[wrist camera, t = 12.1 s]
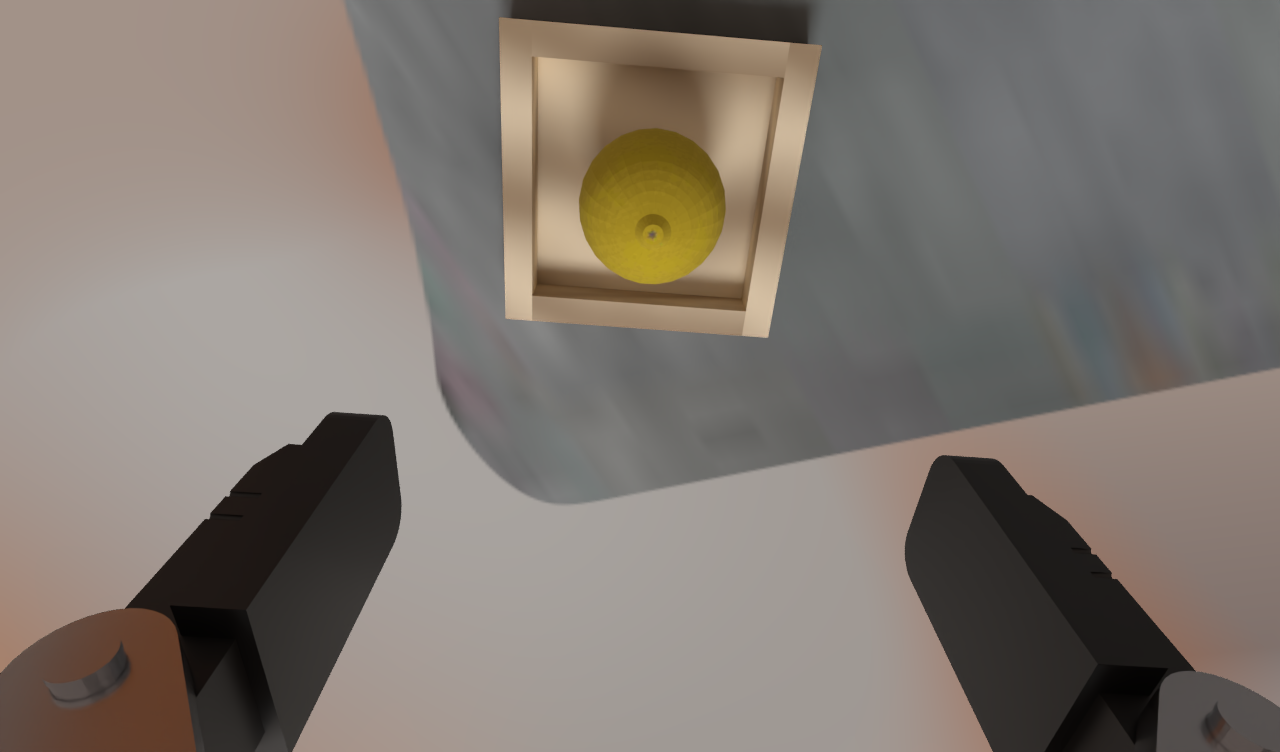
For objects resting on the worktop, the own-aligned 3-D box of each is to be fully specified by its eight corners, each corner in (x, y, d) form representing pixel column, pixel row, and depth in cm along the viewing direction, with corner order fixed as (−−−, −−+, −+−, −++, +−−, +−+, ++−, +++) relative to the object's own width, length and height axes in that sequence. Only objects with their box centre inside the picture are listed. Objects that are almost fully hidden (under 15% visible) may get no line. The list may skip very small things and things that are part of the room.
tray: (510, 18, 26) (498, 17, 24) (807, 44, 26) (822, 45, 24) (514, 299, 32) (505, 318, 29) (759, 317, 32) (768, 337, 30)
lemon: (666, 88, 26) (674, 107, 19) (739, 199, 28) (769, 254, 21) (561, 170, 28) (532, 216, 21) (637, 270, 30) (634, 343, 23)
